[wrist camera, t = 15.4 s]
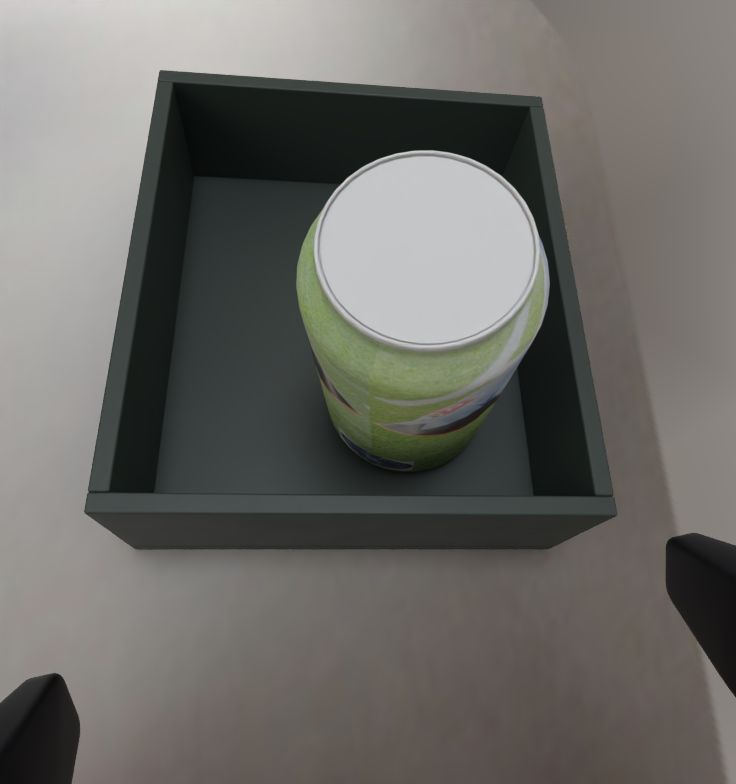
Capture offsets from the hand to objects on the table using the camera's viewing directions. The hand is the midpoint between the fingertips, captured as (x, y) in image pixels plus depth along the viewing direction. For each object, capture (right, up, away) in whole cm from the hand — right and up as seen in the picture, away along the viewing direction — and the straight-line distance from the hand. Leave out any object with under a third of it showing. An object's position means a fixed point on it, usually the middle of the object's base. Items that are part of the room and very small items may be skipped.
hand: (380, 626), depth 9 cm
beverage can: (+1, +2, +15) cm, 16 cm away
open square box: (-1, +5, +17) cm, 18 cm away
